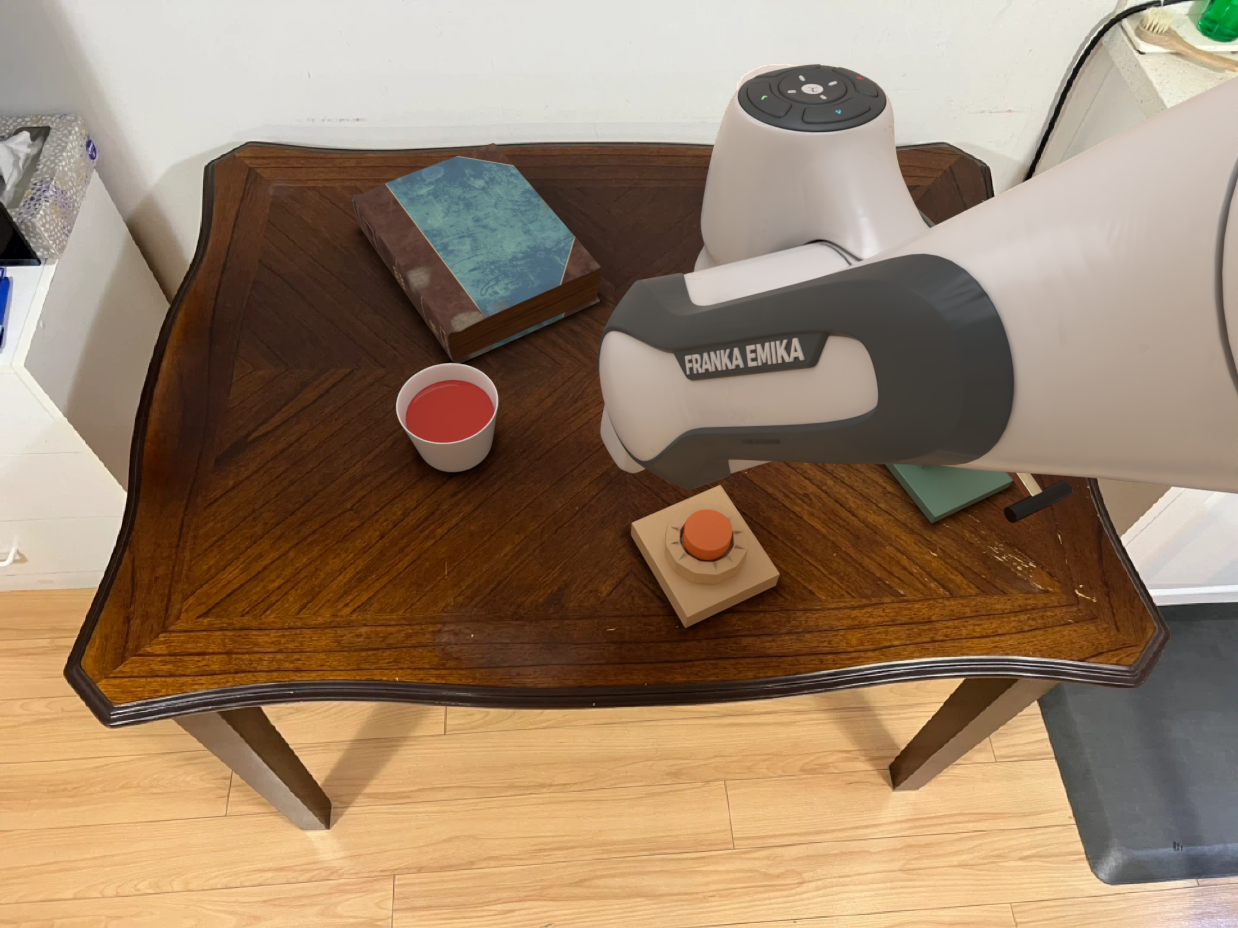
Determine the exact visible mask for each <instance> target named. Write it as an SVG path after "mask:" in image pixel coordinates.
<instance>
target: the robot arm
mask: <svg viewBox="0 0 1238 928" xmlns="http://www.w3.org/2000/svg"><path fill="white" fill-rule="evenodd" d="M894 114H895V113H894V108H893V106H892V103H891V100H890V98H889V96H888V94H887V93H886V92H885V90H884V89H883V88H882V87H881V86H880V85H879V84H878V83H876V82H875V81H874V80H873V79H870V78H868V77H866V76H864V75H863V74H860V73H859V72H857V71H855V70H851V69H848V68H846V67H841V66H833V65H824V64H823V65H821V63H816V64H815V63H814V64H813V63H811V64H803V65H796V66H795V67H789V68H783V69H779V70H774V71H770V72H766V73H763V74H760V75H757V76H756V77H754V78H752V79H750V80H748V81H746V82H745V83H744V84H743V85H741V86H740V88H739V89H738V90H737V91H736V90H735V92H734V94H733V95H732V97H731V99H730V100H729V102H728V103H727V106H726V109H725V111H724V113H723V116H722V118H721V121H720V124H719V128H718V130H717V133H716V138H715V140H714V145H713V149H712V152H711V157H710V161H709V165H708V170H707V174H706V180H705V187H704V192H703V198H702V207H701V212H700V214H701V215H700V230H701V232H700V233H701V236H702V240H703V247H702V249H701V250H700V252H699V254H698V256H697V259H696V260H695V264H694V269H693V271H692V272H687V273H685V274H684V273H683V272H677V273H671V274H665V275H660V276H654V277H649V278H644V279H638V280H636V281H634V282H633V284H632V285H631V286H630V287H629V289H628V290H627V291H626V293H625V294H624V296H623V297H622V298H621V299H620V301H619V302H618V304H617V305H616V307H615V308H614V310H613V312H612V313H611V315H610V317H609V318H608V320H607V322H606V324H605V327H604V328H603V331H602V332H601V335H600V338H599V342H598V346H597V370H598V378H599V385H600V390H601V394H602V399H603V403H604V406H603V411H602V415H601V421H600V432H599V433H600V438H601V440H602V442H603V445H604V446H605V448H606V450H607V452H608V453H609V455H610V457H611V458H612V461H614V464H615V465H617V467H618V468H619V469H620V470H622V471H624V472H627V473H628V474H635V473H636V474H637V473H640V472H641V471H645V470H647V471H648V472H650V473H651V474H652V475H655V476H657V477H658V478H660V479H662V480H664V481H665V482H667V483H670V484H673V485H675V486H677V487H679V488H682V489H685V490H687V491H692V490H695V489H697V488H701V487H703V486H707V485H710V484H712V483H715V482H717V481H721V480H723V479H726V478H729V477H731V474H735V473H737V472H740V471H741V472H742V471H744V470H748V469H751V468H755V467H758V466H761V465H765V464H768V463H772V462H777V463H778V462H782V463H802V464H804V463H805V464H831V465H832V464H833V465H835V464H836V465H885V464H909V465H931V466H939V465H940V466H949V467H957V468H966V469H975V470H986V471H999V472H1006V473H1008V472H1014V473H1030V474H1031V475H1033V474H1034V475H1051V476H1062V477H1063V476H1065V477H1075V478H1077V477H1078V478H1087V479H1088V478H1089V479H1101V480H1109V481H1110V480H1111V481H1119V482H1129V483H1137V484H1144V485H1152V486H1153V485H1154V486H1163V487H1171V488H1180V489H1189V490H1190V489H1191V490H1200V491H1206V492H1216V493H1223V494H1224V493H1225V494H1234V495H1235V494H1236V495H1238V75H1237V76H1235V77H1232V78H1231V79H1228V80H1225V81H1224V82H1222V83H1219V84H1218V85H1214V86H1213V87H1211V88H1209V89H1207V90H1205V91H1203V92H1201V93H1198V94H1196V95H1193V96H1191V97H1189V98H1187V99H1185V100H1183V101H1180V102H1178V103H1177V104H1174V105H1172V106H1170V107H1168V108H1166V109H1164V110H1162V111H1159V112H1158V113H1156V114H1153V115H1152V116H1150V117H1147V118H1145V119H1144V120H1142V121H1140V122H1138V123H1136V124H1134V125H1133V126H1130V127H1128V128H1126V129H1124V130H1122V131H1120V132H1118V133H1116V134H1115V135H1113V136H1111V137H1109V138H1107V139H1105V140H1103V141H1101V142H1099V143H1098V144H1097V143H1096V144H1095V145H1093V146H1092V147H1089V148H1088V149H1085V150H1083V151H1082V152H1080V153H1078V154H1076V155H1073V157H1070V158H1067V160H1064V161H1062V162H1060V163H1059V164H1057V165H1054V166H1053V167H1051V168H1049V169H1047V170H1045V171H1043V172H1041V173H1039V174H1037V175H1035V176H1033V177H1031V178H1029V179H1027V180H1025V181H1023V182H1021V183H1019V184H1017V185H1015V186H1013V187H1011V188H1009V189H1006V190H1005V191H1003V192H1001V193H999V194H996V195H995V196H993V197H990V198H988V199H987V200H984V201H983V202H981V203H978V204H976V205H974V206H972V207H970V208H968V209H966V210H964V211H962V212H960V213H958V214H956V215H954V216H952V217H949V218H947V219H946V220H943V221H942V222H940V223H938V224H936V223H935V222H933V221H932V220H931V218H929V217H928V216H927V215H926V214H924V213H923V212H922V211H921V210H920V209H919V208H918V207H917V205H916V204H915V201H914V200H913V196H912V195H911V193H910V190H909V189H908V187H907V184H906V182H905V180H904V177H903V175H902V172H901V168H900V165H899V161H898V155H897V147H896V132H895V131H896V130H895V129H896V128H895V115H894Z"/></svg>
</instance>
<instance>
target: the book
mask: <svg viewBox="0 0 1238 928" xmlns="http://www.w3.org/2000/svg"><path fill="white" fill-rule="evenodd" d="M350 199H351V206H352V210H353V213H354V215H355V219H356V221H357V224H358V226H359V229H360V230H361V231H362V232H363V234H364V236H365V237H366V238H367V240H368V241H369V243H370V244H371V246H372V247H373V248H374V250H375V251H376V253H377V255H378V256H379V257H380V258H381V260H382V262H383V263H384V265H385V266H386V267H387V269H388V270H389V272H390V273H391V275H392V276H393V278H394V279H395V280H396V282H397V283H398V285H399V286H400V288H401V289H402V290H403V292H404V294H405V295H406V296H407V297H408V299H409V301H410V302H411V304H412V305H413V306H414V308H415V309H416V311H417V312H418V314H419V315H420V317H421V318H422V319H423V321H424V322H425V324H426V325H427V326H428V328H429V330H430V331H431V332H432V334H433V335H434V337H435V338H436V340H437V341H438V342H439V344H440V346H441V347H442V348H443V350H444V351H445V353H446V354H447V356H448V357H449V358H450V360H451V361H452V363H455V364H462V363H464V362H467V361H469V360H471V359H474V358H477V357H478V356H482V355H483V354H485V353H488V352H490V351H492V350H495V349H497V348H499V347H502V346H504V345H506V344H508V343H511V342H513V341H515V340H517V339H519V338H522V337H524V336H526V335H528V334H531V333H533V332H535V331H537V330H539V329H543V328H544V327H547V326H549V325H551V324H554V323H555V322H558V321H560V320H562V319H564V318H566V317H569V316H571V315H574V314H575V313H578V312H580V311H582V310H584V309H587V308H589V307H591V306H594V305H596V304H598V303H600V302H601V299H600V298H599V297H598V294H599V290H600V287H601V275H600V273H599V269H601V268H602V267H601V265H600V264H599V262H597V261H596V260H595V258H594V257H593V256H592V254H590V252H589V251H588V250H587V249H586V248H585V246H584V245H583V244H582V243H581V242H580V241H579V240H578V238H577V237H576V235H574V233H572V231H571V230H570V229H569V228H568V227H567V225H566V224H565V223H564V222H563V221H562V219H560V217H559V216H558V215H557V214H556V213H555V212H554V210H553V209H552V208H551V207H550V206H549V204H548V203H547V202H546V201H545V200H544V199H543V198H542V197H541V195H540V194H539V193H538V191H536V190H535V188H534V187H533V186H532V185H531V184H530V182H529V181H528V180H527V179H526V178H525V176H523V174H522V173H521V172H520V171H519V170H518V168H517V167H516V166H515V165H514V164H513V163H512V161H511V160H510V159H509V158H508V157H507V156H506V155H505V153H504V152H503V151H502V150H501V149H500V148H499V146H498V145H497V144H496V143H495V142H492V143H488V144H486V145H483V146H480V147H478V148H475V149H472V150H470V151H466V152H464V153H462V154H459V155H457V156H453V157H450V158H448V159H445V160H443V161H440V162H438V163H435V164H432V165H430V166H427V167H424V168H421V169H419V170H416V171H414V172H411V173H409V174H406V175H403V176H401V177H398V178H395V179H393V180H391V181H388V182H385V183H383V184H381V185H378V186H376V187H373V188H371V189H369V190H368V191H365V192H364V193H361V194H360V193H357V194H355V193H354V194H352V195H351V198H350Z"/></svg>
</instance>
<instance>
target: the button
mask: <svg viewBox="0 0 1238 928" xmlns="http://www.w3.org/2000/svg"><path fill="white" fill-rule="evenodd" d="M731 538H732V526H731V524H730V522H729V520H728V519H727V518H726V517H725V516H724V515H723V514H721V513H720V512H717V511H715V510H709V509H705V510H699V511H697V512H695V513H693V514H692V515H691V516H689V518H688V519H687V521H686V523H685V527H684V533H683V543H684V546H685V548H686V549H687V551H688V552H689V553H690V554H691V555H692V556H694V557H696V558H698V559H701V560H715V559H718V558H720V557H721V556H723V555H724V554H725V553H726V552H727V550H728V548H729V546H730V542H731Z"/></svg>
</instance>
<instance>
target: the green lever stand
mask: <svg viewBox="0 0 1238 928" xmlns="http://www.w3.org/2000/svg"><path fill="white" fill-rule="evenodd" d="M884 466H885V467H886V468H887V469H888V470H889V472H890V473H891V474H892V476H893V477H894V478H895V480H896V481H897V482H898V483H899V484H900V486H901V487H902V488H903V489H904V491H905V492H906V493H907V494H908V496H909V497H910V499H911V500H912V501H913V502H914V503H915V505H916V506H917V507H918V509H919V510H920V511H921V512H922V513H923V515H924V516H925V518H926V519H927V520H928V522H930V524H934V523H936V522H938V521H940V520H942V519H945V518H947V517H948V516H951V515H953V514H955V513H957V512H959V511H961V510H964V509H965V508H968V507H970V506H972V505H974V504H977V503H978V502H981V501H982V500H985V499H987V498H989V497H991V496H993V495H995V494H997V493H1000V492H1002V491H1003V490H1006V489H1008V488H1009V487H1010V486H1011V485H1012V483H1013V482H1014V481H1013V480H1012V478H1011V477H1010V475H1009V474H1008V472H999V471H986V470H975V469H966V468H957V467H949V466H940V465H939V466H931V465H909V464H884Z"/></svg>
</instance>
